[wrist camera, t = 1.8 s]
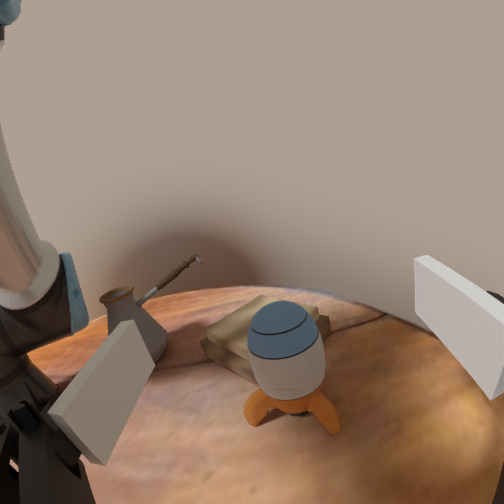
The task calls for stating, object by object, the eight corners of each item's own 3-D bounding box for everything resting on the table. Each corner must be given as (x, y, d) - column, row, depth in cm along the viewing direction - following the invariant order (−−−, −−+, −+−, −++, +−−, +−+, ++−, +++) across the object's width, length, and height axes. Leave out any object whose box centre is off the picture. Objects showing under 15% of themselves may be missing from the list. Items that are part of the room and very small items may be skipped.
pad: (206, 356, 43) (195, 330, 41) (266, 315, 51) (260, 291, 50) (267, 390, 32) (258, 361, 31) (331, 333, 41) (327, 304, 39)
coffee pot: (112, 381, 39) (71, 302, 35) (121, 347, 50) (91, 280, 46) (231, 348, 43) (203, 261, 39) (220, 318, 54) (197, 246, 50)
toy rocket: (300, 377, 34) (310, 274, 29) (362, 422, 26) (397, 312, 21) (234, 413, 29) (224, 303, 24) (293, 474, 20) (314, 372, 16)
